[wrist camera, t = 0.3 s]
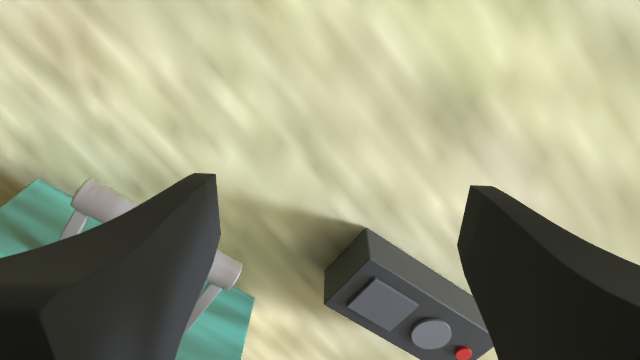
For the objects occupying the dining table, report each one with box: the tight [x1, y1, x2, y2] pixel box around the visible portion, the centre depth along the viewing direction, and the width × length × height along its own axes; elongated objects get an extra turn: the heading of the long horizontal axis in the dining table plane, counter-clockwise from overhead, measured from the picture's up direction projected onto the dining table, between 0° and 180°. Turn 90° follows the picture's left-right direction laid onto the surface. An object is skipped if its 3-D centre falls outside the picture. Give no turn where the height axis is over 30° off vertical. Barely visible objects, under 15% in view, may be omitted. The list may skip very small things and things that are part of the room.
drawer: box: [0, 178, 254, 360], centre depth 23 cm, size 17×13×7 cm
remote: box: [324, 228, 494, 360], centre depth 26 cm, size 4×10×3 cm, turn 54°
